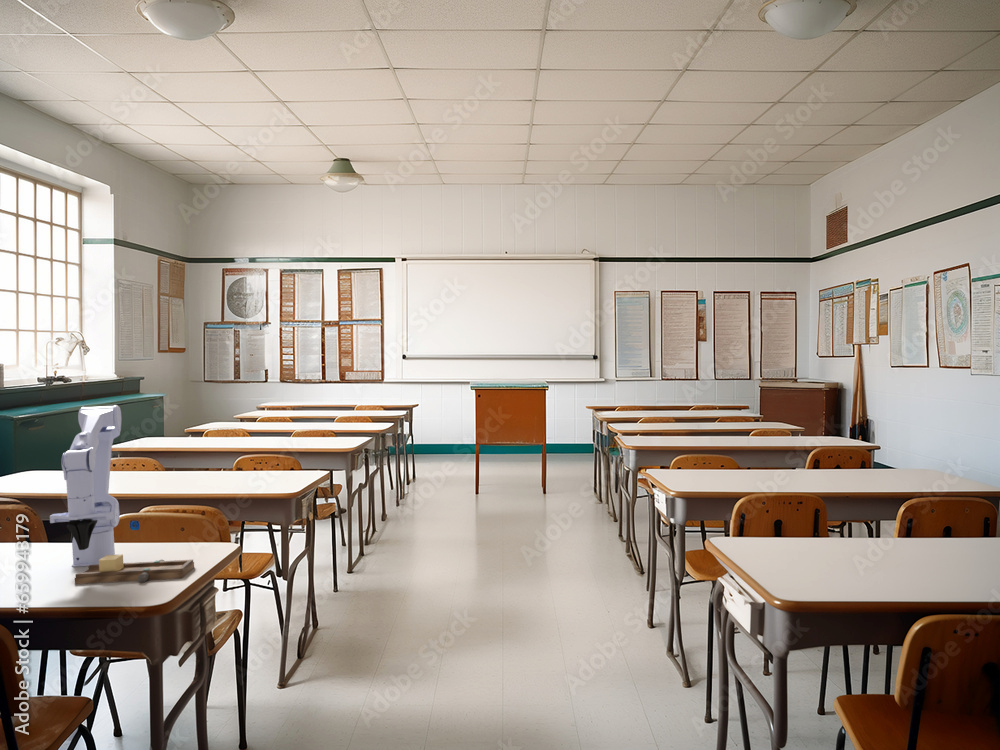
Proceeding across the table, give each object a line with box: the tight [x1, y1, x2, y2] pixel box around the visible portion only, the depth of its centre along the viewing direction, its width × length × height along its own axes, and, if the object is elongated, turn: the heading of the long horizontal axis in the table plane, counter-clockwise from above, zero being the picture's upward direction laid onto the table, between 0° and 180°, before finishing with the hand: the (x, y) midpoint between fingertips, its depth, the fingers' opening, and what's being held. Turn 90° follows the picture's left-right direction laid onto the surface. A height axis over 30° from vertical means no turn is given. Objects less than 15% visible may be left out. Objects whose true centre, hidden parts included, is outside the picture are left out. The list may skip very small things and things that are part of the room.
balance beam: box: [74, 559, 195, 585], centre depth 169 cm, size 26×12×2 cm, turn 95°
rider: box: [99, 553, 124, 572], centre depth 168 cm, size 4×4×4 cm
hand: (83, 548), depth 167 cm, fingers closed
